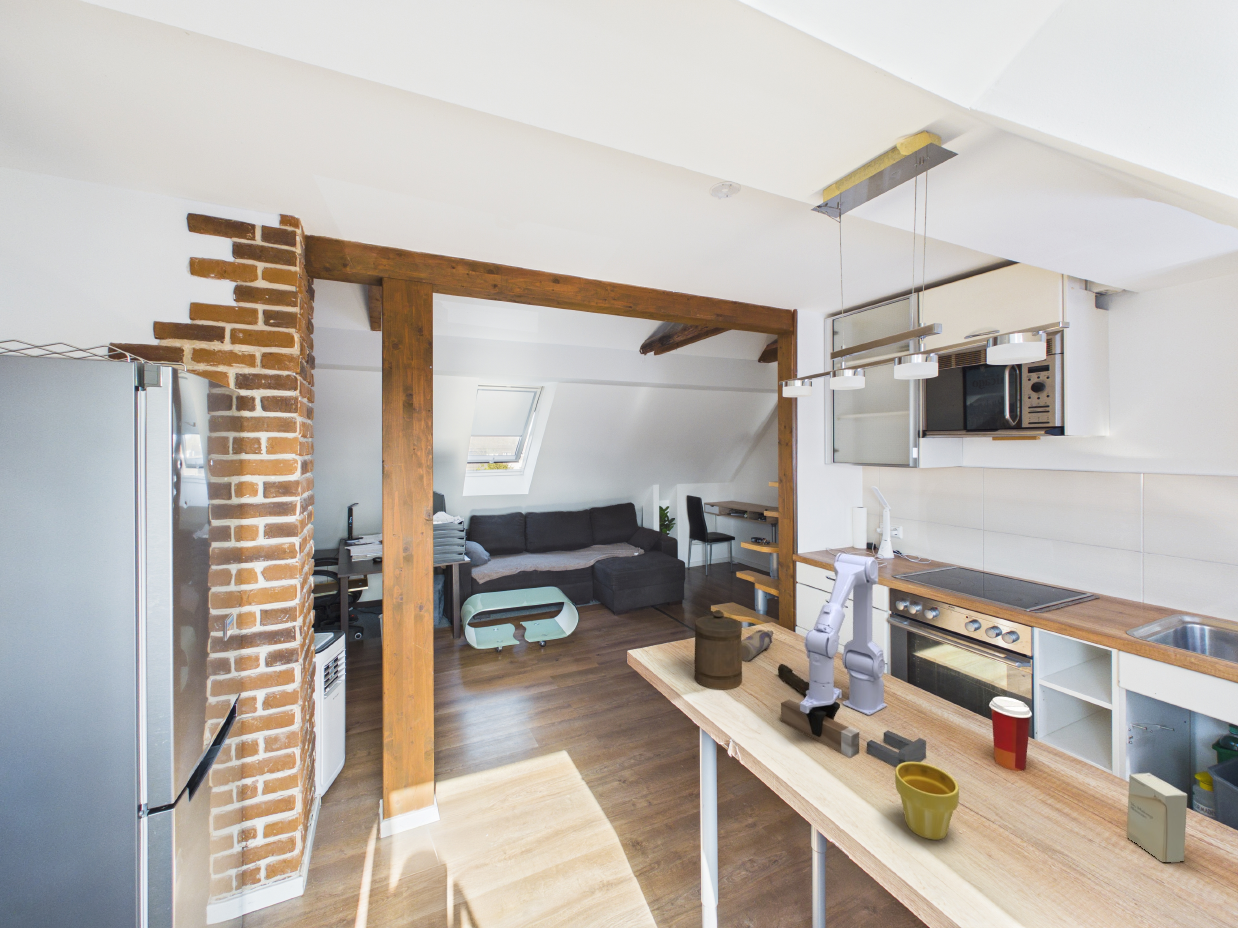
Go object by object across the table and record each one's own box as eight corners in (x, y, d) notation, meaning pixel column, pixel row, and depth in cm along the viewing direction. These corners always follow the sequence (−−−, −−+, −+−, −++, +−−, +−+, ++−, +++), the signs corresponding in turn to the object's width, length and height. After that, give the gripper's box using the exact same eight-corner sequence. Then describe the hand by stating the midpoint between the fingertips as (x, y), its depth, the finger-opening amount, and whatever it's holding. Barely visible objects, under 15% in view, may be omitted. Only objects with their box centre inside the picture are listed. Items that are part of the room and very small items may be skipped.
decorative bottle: (753, 664, 174) (752, 644, 174) (732, 659, 179) (732, 640, 179) (782, 642, 194) (782, 625, 194) (763, 638, 199) (763, 621, 199)
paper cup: (1023, 757, 120) (1023, 698, 120) (1037, 776, 113) (1038, 713, 112) (983, 751, 122) (984, 693, 122) (995, 769, 115) (995, 708, 115)
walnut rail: (789, 717, 139) (789, 698, 139) (859, 752, 122) (859, 731, 122) (780, 721, 137) (780, 702, 137) (850, 757, 120) (850, 735, 120)
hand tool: (822, 702, 148) (822, 686, 148) (810, 703, 147) (810, 687, 147) (786, 675, 166) (786, 660, 166) (775, 676, 165) (775, 662, 165)
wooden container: (748, 676, 165) (748, 608, 164) (732, 694, 152) (732, 621, 152) (705, 666, 173) (705, 601, 172) (686, 682, 160) (686, 613, 160)
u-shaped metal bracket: (887, 739, 127) (887, 724, 127) (926, 757, 120) (926, 740, 120) (866, 752, 122) (866, 735, 122) (905, 771, 115) (905, 754, 115)
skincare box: (1125, 837, 95) (1126, 772, 95) (1147, 835, 95) (1148, 771, 95) (1164, 864, 88) (1165, 795, 88) (1187, 862, 89) (1188, 793, 89)
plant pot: (933, 855, 91) (934, 801, 91) (883, 817, 100) (883, 768, 100) (971, 837, 95) (971, 785, 95) (919, 803, 104) (919, 755, 104)
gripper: (824, 666, 136) (824, 717, 136) (789, 680, 128) (789, 734, 128) (849, 675, 130) (849, 728, 130) (814, 690, 122) (814, 747, 122)
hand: (821, 732), depth 129 cm, fingers closed on walnut rail, 3 cm apart
